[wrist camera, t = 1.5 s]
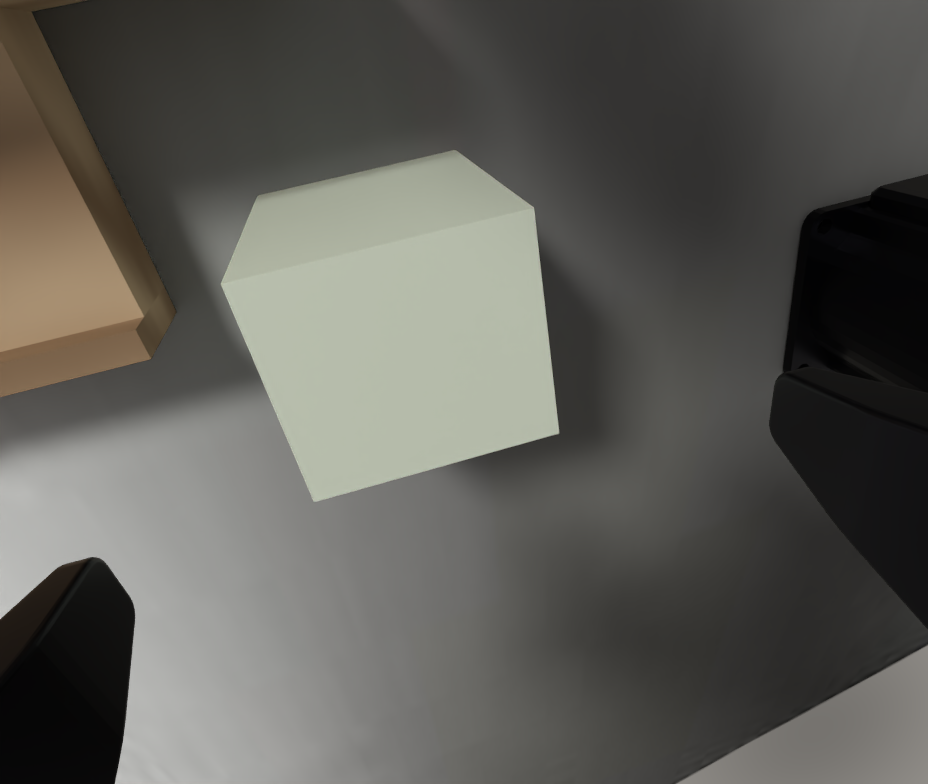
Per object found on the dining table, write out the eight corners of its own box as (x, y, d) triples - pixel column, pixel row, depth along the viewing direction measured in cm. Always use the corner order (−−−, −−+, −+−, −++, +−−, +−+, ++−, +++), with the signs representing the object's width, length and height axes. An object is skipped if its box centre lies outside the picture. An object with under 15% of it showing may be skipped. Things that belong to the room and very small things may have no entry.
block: (486, 329, 19) (561, 454, 13) (321, 372, 19) (322, 522, 13) (454, 149, 16) (534, 207, 10) (257, 195, 16) (221, 284, 10)
